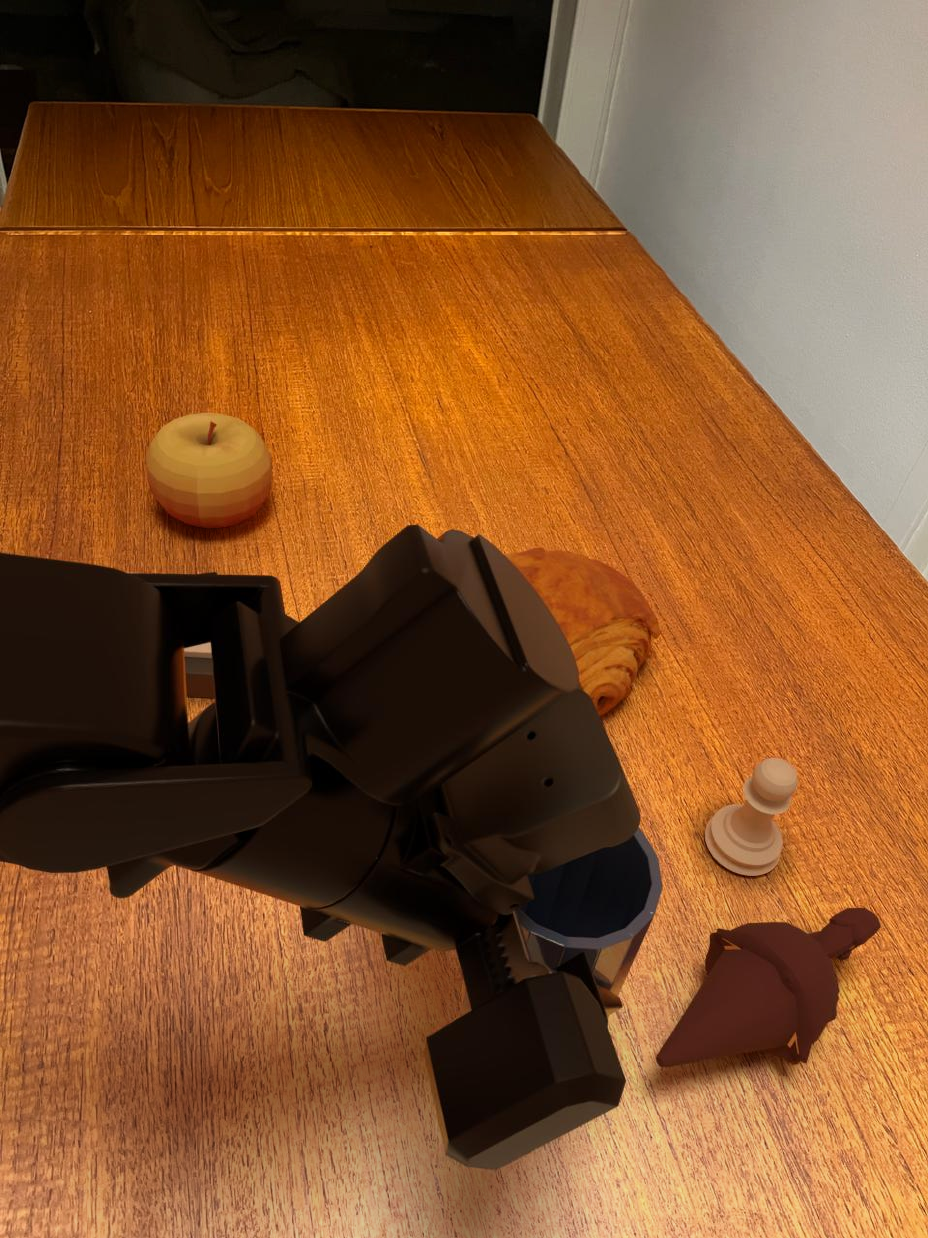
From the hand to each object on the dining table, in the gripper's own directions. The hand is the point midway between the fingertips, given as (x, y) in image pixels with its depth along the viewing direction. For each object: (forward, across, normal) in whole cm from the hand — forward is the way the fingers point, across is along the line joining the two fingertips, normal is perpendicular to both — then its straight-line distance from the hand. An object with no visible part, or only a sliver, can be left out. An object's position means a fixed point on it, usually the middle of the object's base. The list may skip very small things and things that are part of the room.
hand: (583, 928), depth 43 cm
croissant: (+15, +27, +2) cm, 31 cm away
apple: (-1, +47, +18) cm, 51 cm away
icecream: (+16, -1, +1) cm, 17 cm away
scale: (-4, +32, +21) cm, 39 cm away
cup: (+4, 0, +6) cm, 7 cm away
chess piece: (+20, +9, -3) cm, 22 cm away
